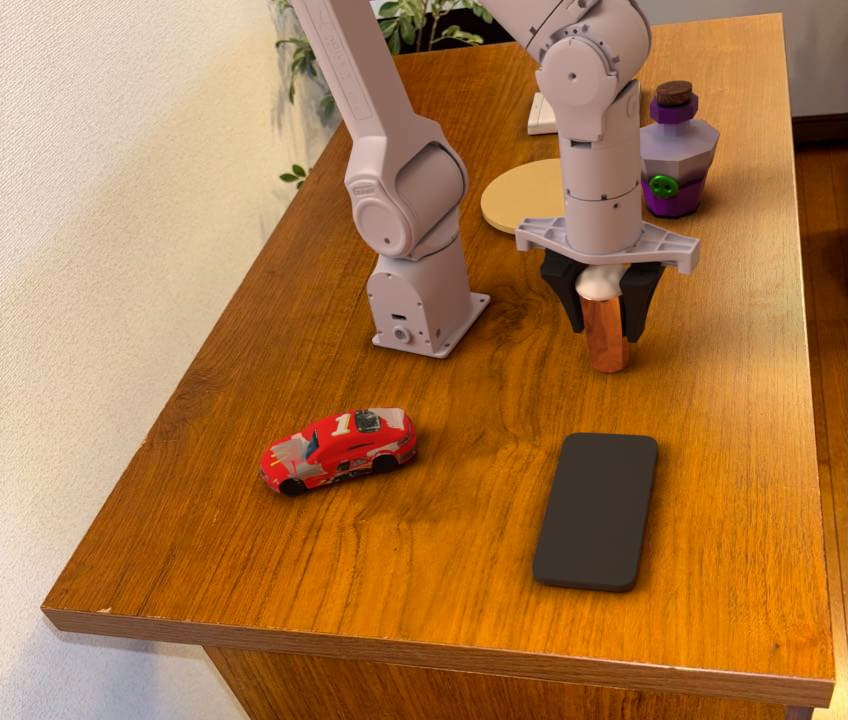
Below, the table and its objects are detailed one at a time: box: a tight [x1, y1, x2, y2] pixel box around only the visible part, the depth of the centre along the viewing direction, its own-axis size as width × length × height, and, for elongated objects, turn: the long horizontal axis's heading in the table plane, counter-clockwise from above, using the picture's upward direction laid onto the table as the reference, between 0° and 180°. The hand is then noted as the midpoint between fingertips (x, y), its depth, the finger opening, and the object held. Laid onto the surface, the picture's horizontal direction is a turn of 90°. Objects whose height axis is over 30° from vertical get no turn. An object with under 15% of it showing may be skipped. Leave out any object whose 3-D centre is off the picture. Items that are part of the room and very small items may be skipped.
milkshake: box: [575, 264, 631, 374], centre depth 81 cm, size 5×5×10 cm
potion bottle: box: [640, 79, 721, 220], centre depth 94 cm, size 9×9×12 cm
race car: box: [259, 406, 419, 497], centre depth 80 cm, size 13×5×4 cm, turn 98°
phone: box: [531, 431, 659, 592], centre depth 73 cm, size 7×1×15 cm
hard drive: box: [527, 82, 642, 136], centre depth 114 cm, size 2×8×12 cm
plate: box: [480, 157, 565, 235], centre depth 103 cm, size 14×14×1 cm
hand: (609, 331), depth 82 cm, fingers closed on milkshake, 4 cm apart
